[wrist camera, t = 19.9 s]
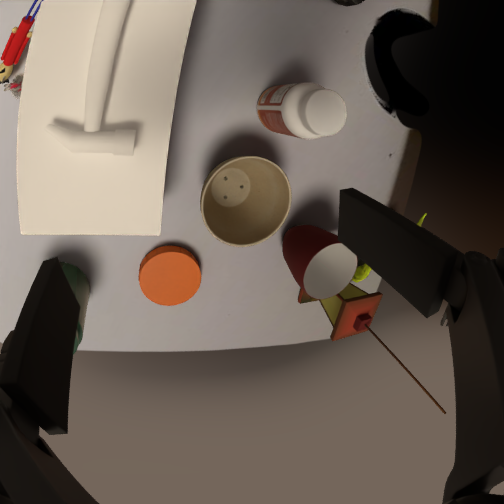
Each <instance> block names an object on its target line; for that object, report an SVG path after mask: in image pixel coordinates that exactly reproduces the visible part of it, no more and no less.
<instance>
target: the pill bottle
mask: <svg viewBox="0 0 504 504" xmlns="http://www.w3.org/2000/svg"><path fill="white" fill-rule="evenodd" d="M257 113H258V117H259V119H260V121H261V123H262V124H263V125H264V126H265V127H266V128H267V129H269V130H271V131H273V132H276V133H281V134H285V135H290V136H294V137H298V138H303V139H317V138H320V137H322V136H332V135H334V134H336V133H338V132H339V131H340V130H341V129H342V127H343V126H344V124H345V121H346V117H347V110H346V105H345V103H344V101H343V99H342V98H341V96H340V95H339V94H338V93H336V92H334V91H332V90H329V89H325V88H324V87H322V86H320V85H318V84H315V83H297V84H287V85H278V86H273V87H271V88H269V89H267V90H266V91H264V92H263V93H262V95H261V96H260V98H259V100H258V103H257Z"/></svg>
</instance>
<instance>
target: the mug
mask: <svg viewBox="0 0 504 504" xmlns="http://www.w3.org/2000/svg"><path fill="white" fill-rule="evenodd" d="M283 256H284V258H285V261H286V263H287V265H288V267H289V269H290V271H291V273H292V275H293V277H294V279H295V280H296V282H297V283H298V285H299V286H300V287H301V288H302V289H303V290H304V291H305V293H306V294H307V295H309V296H310V297H312V298H314V299H327V298H330V297H333V296H335V295H336V294H338V293H339V292H341V291H342V290H343V289H344V288H345V287H346V286H347V285H348V284H349V283H350V281H351V280H352V278H353V276H354V274H355V271H356V268H357V256H356V255H355V254H354V253H353V252H351V251H350V250H349V249H348V248H347V247H345V246H344V245H343V244H342V243H341V242H339V241H338V236H337V235H335V234H333V233H331V232H328V231H326V230H323V229H321V228H319V227H316V226H313V225H299V226H294V227H292V228H290V229H289V230H288V231H287V232H286V233H285V235H284V238H283Z"/></svg>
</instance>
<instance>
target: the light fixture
mask: <svg viewBox="0 0 504 504" xmlns="http://www.w3.org/2000/svg"><path fill="white" fill-rule="evenodd" d="M382 295H383V294H382V293H380V292H376V293H371V294H368V293H366V292H365V291H363V290H361V289H360V288H358V287H356V286H355V285H353V284H351V283H349V284H348V285H347V286H346V287H345V288H344V289H343V290H342V291H341V292H339V293H338V294H336V295H335V296H333V297H330V298H327V299H314V298H312V297H310V296H309V295H307V294H306V293H305V291H304V290H303V289H302V288H301V290H300V294H299V298H298V302H299V303H300V304H301V303H306V302H312V301H317V300H319V301H320V303H321V305H322V307H323V308H324V310H325V312H326V314H327V316H328V318H329V320H330V322H331V324H332V326H333V331H332V334H331V336H330V338H331V339H332V341H335V340H338V339H342V338H345V337H348V336H352V335H355V334H359V333H361V332H365V331H368V330H369V331H370V332H371V333H372V334H373V335H374V336H375V337H376V338H377V339H378V341H379V342H380V343H381V344H382V345H383V346H384V347H385V348H386V349H387V350H388V351H389V353H390V354H391V355H392V356H393V357H394V358H395V359H396V360H397V361H398V362H399V364H401V366H402V367H403V368H404V369H405V370H406V371H407V372H408V373H409V375H410V376H411V377H412V378H413V379H414V380H415V381H416V382H417V384H418V385H419V386H420V387H421V388H422V389H423V390H424V391H425V392H426V394H427V395H428V396H429V397H430V398H431V399H432V400H433V401H434V403H435V404H436V405H437V406H438V407H439V408H440V410H441V411H442V412H443V413H444V414H446V412H445V411H444V409H443V408H442V407H441V406H440V405H439V404H438V403H437V402H436V400H435V399H434V398H433V397H432V396H431V395H430V394H429V392H428V391H427V390H426V389H425V388H424V387H423V386H422V385H421V384H420V382H419V381H418V380H417V379H416V378H415V377H414V376H413V375H412V374H411V372H410V371H409V370H408V369H407V368H406V367H405V366H404V365H403V364H402V363H401V361H400V360H399V359H398V358H397V357H396V356H395V355H394V354H393V353H392V352H391V351H390V350H389V349H388V347H387V346H386V345H385V344H384V343H383V342H382V341H381V340H380V339H379V338H378V337H377V336H376V334H375V333H374V332H373V331H372V330H371V329H370V328H369V326H370V324H371V322H372V320H373V317H374V315H375V313H376V310H377V308H378V305H379V303H380V300H381V298H382Z"/></svg>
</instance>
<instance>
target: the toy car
mask: <svg viewBox="0 0 504 504" xmlns="http://www.w3.org/2000/svg"><path fill="white" fill-rule="evenodd" d="M335 1H336V2H337V3H338V4H340V5H343V6H352V5H357V4H360V3H362V1H365V0H335Z"/></svg>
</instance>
